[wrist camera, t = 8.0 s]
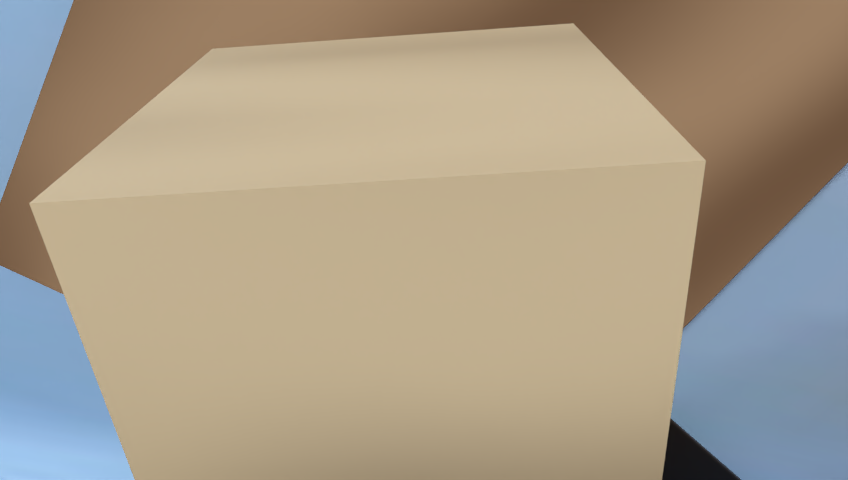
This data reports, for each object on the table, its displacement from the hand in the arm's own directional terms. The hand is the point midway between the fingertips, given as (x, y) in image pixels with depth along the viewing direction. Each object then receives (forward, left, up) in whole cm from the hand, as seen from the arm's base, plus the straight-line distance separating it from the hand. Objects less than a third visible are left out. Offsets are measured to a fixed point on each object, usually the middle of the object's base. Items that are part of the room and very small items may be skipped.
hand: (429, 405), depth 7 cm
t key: (0, 0, -5) cm, 5 cm away
